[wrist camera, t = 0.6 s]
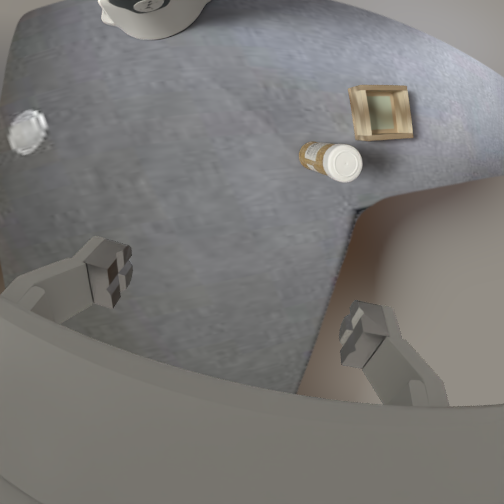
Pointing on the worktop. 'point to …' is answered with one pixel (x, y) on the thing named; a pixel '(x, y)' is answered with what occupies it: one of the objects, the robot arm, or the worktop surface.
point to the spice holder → (380, 112)
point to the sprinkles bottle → (332, 160)
